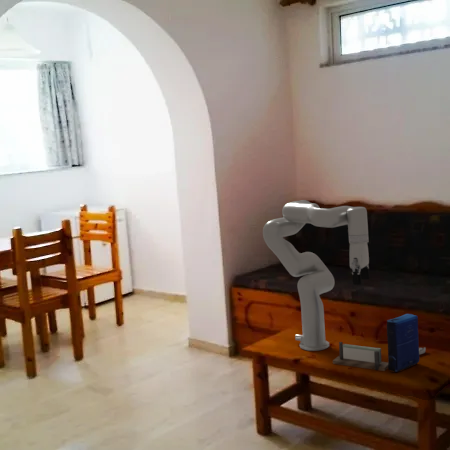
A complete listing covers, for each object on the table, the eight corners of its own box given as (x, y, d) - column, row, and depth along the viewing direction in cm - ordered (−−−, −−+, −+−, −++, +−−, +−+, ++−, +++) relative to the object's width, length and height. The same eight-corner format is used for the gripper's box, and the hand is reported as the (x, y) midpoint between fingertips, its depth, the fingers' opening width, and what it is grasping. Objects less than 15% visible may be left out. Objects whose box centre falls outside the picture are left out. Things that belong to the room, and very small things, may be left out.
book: (396, 374, 233) (394, 322, 231) (385, 371, 237) (383, 319, 235) (421, 364, 241) (419, 313, 239) (409, 361, 246) (408, 311, 243)
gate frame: (332, 363, 249) (331, 344, 248) (338, 358, 254) (337, 339, 253) (384, 371, 237) (383, 350, 236) (389, 365, 242) (389, 345, 241)
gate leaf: (343, 358, 249) (342, 344, 248) (344, 357, 250) (344, 343, 249) (380, 363, 240) (379, 349, 240) (381, 362, 242) (380, 348, 241)
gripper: (356, 235, 255) (359, 276, 257) (341, 242, 240) (344, 286, 242) (374, 235, 251) (377, 277, 253) (360, 242, 236) (363, 287, 238)
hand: (361, 281), depth 247 cm, fingers open, 9 cm apart
